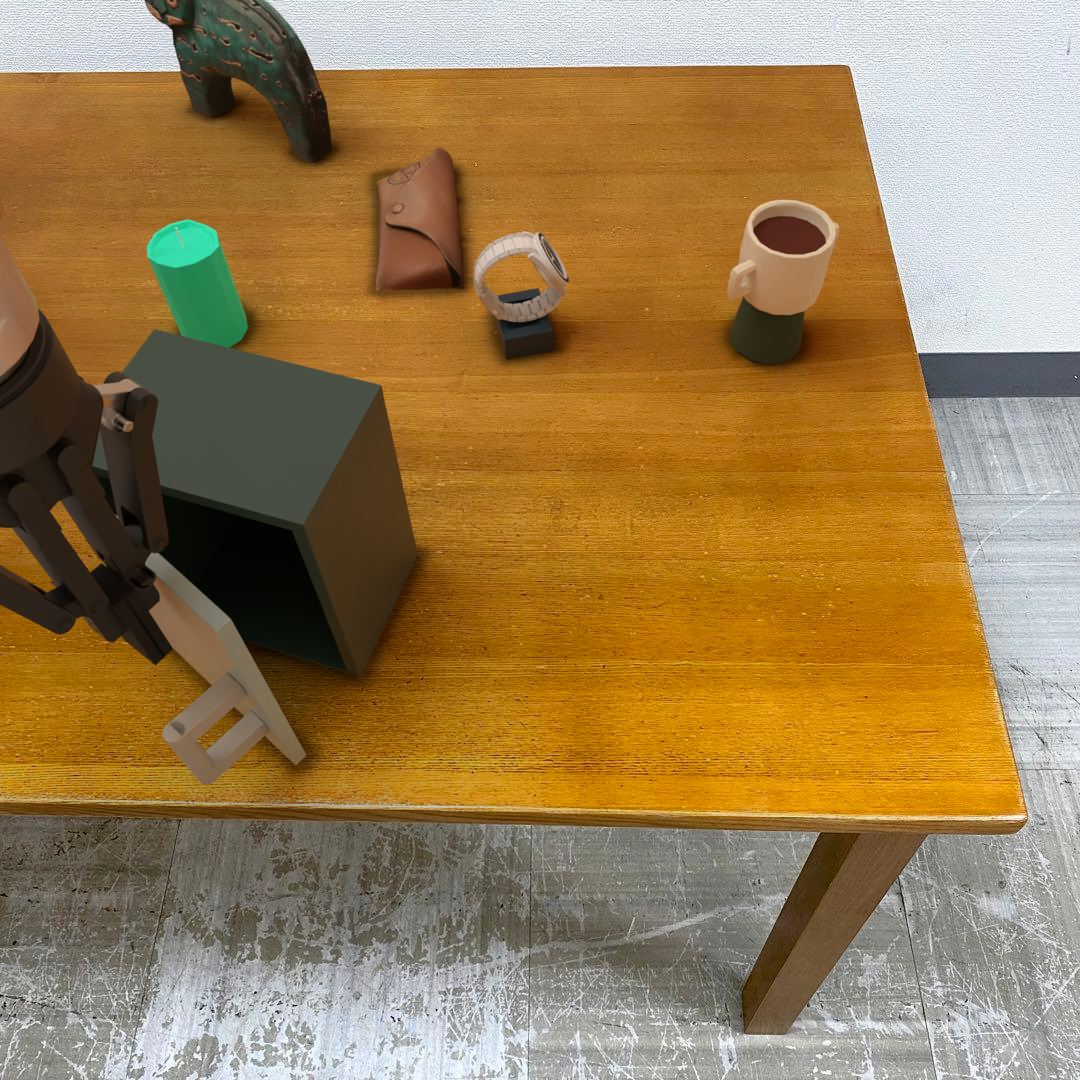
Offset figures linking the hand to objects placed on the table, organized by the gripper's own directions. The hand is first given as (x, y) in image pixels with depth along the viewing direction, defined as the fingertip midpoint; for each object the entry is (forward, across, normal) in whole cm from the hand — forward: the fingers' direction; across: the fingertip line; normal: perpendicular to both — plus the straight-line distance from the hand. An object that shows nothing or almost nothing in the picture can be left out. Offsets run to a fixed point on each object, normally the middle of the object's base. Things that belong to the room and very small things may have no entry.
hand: (148, 644), depth 58 cm
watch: (+15, +44, +7) cm, 47 cm away
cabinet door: (+15, +1, +3) cm, 15 cm away
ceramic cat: (+14, +51, +49) cm, 73 cm away
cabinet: (+15, +12, +5) cm, 20 cm away
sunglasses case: (+14, +49, +24) cm, 56 cm away
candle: (+15, +27, +30) cm, 43 cm away
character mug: (+15, +56, -10) cm, 59 cm away
